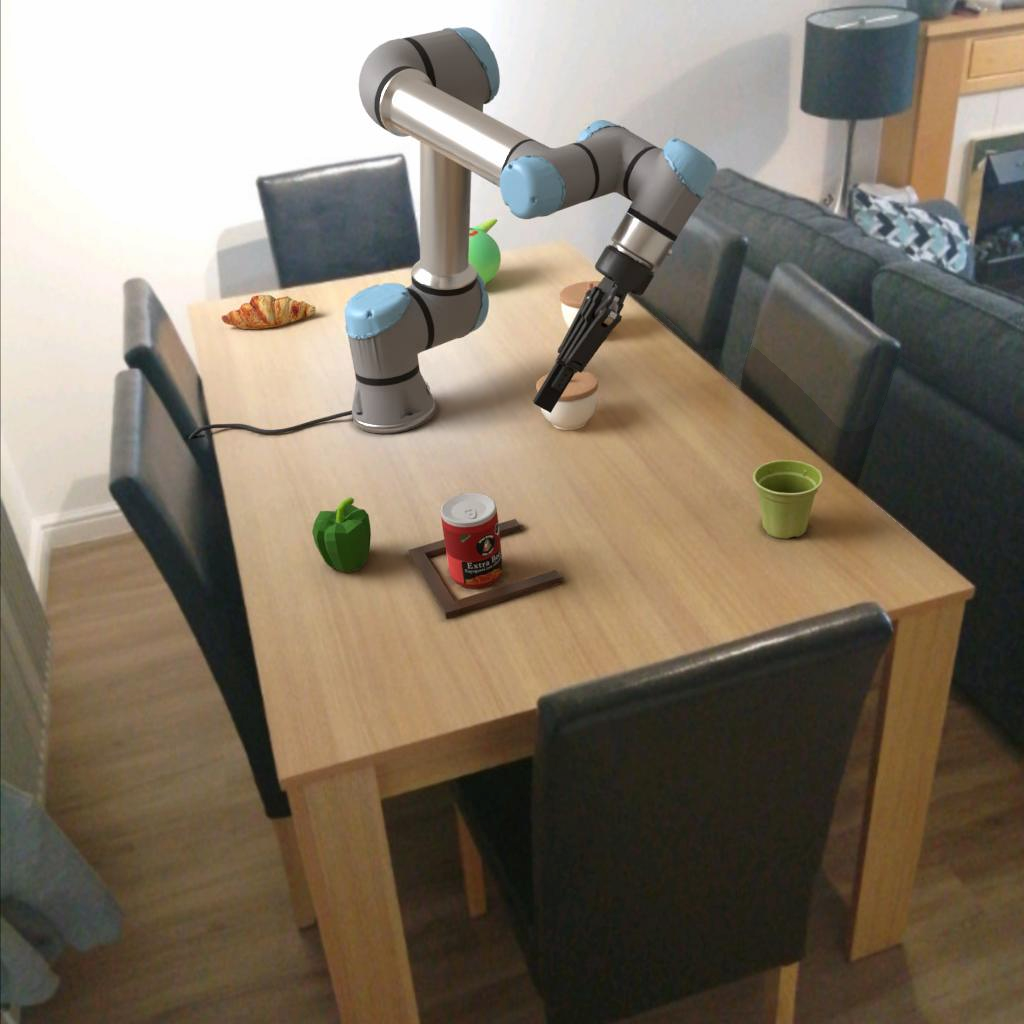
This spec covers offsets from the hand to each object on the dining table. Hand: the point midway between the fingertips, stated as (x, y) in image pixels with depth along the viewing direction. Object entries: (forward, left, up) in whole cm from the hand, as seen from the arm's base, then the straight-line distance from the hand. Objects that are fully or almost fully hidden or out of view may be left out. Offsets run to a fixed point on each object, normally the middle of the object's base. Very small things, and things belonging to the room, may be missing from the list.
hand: (541, 406), depth 144 cm
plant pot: (+34, +2, -20) cm, 39 cm away
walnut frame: (-7, -10, -20) cm, 24 cm away
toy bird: (-37, +103, -20) cm, 111 cm away
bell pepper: (-28, -11, -20) cm, 37 cm away
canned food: (-9, -12, -20) cm, 25 cm away
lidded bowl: (-3, +74, -20) cm, 77 cm away
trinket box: (-2, +34, -20) cm, 40 cm away
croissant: (-78, +81, -20) cm, 114 cm away
